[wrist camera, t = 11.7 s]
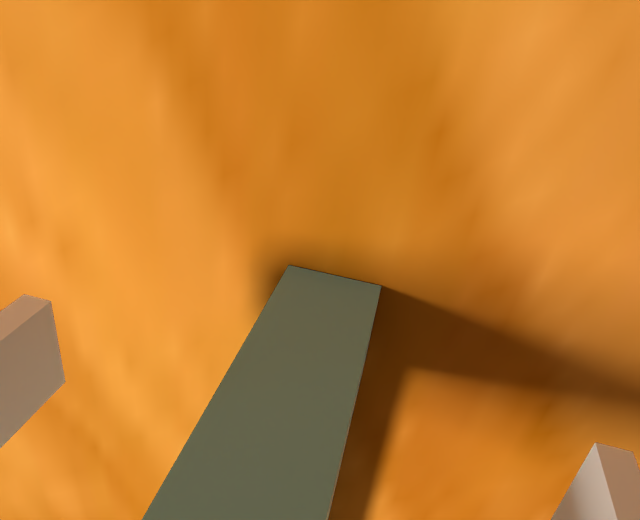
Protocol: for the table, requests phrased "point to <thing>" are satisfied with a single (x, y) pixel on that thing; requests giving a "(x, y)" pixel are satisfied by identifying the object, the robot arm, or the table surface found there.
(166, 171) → the table surface
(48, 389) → the robot arm
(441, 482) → the table surface
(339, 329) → the teal bent bar
